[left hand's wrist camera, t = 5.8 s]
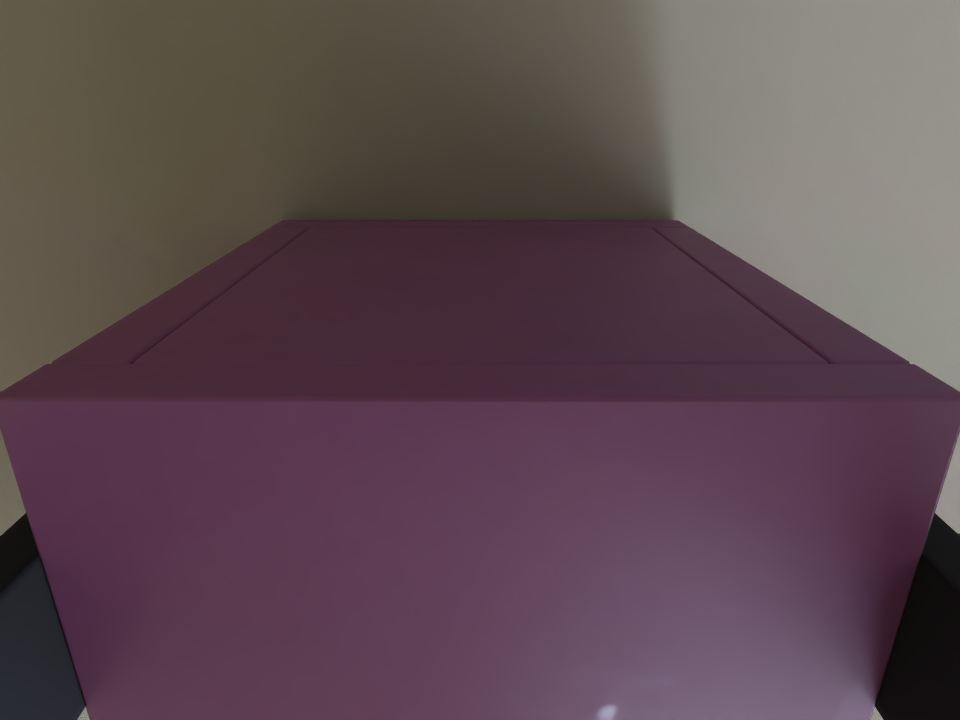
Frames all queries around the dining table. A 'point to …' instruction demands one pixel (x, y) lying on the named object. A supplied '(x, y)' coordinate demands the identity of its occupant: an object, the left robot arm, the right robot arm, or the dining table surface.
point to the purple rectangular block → (480, 483)
